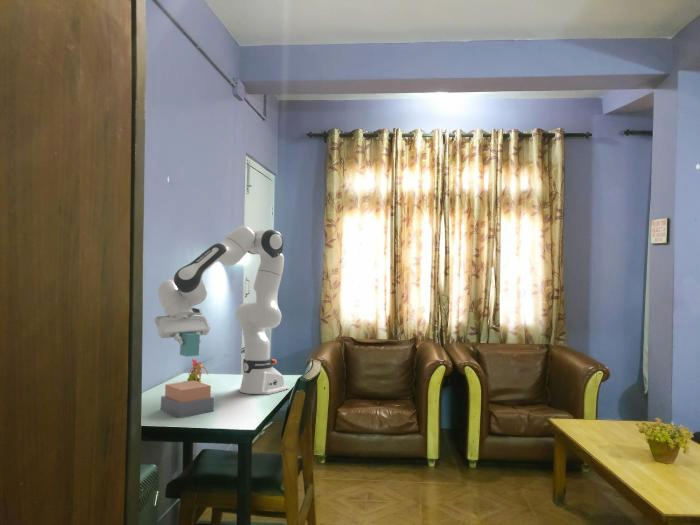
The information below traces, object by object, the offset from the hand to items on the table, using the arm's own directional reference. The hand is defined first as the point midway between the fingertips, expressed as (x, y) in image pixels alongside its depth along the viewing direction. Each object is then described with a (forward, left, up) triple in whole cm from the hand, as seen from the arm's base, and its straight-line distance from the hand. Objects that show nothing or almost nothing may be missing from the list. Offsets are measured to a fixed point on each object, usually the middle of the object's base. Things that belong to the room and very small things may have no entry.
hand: (190, 343), depth 198 cm
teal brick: (0, -1, -4) cm, 4 cm away
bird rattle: (-27, -43, -25) cm, 57 cm away
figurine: (-19, -26, -25) cm, 41 cm away
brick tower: (0, -1, -25) cm, 25 cm away
